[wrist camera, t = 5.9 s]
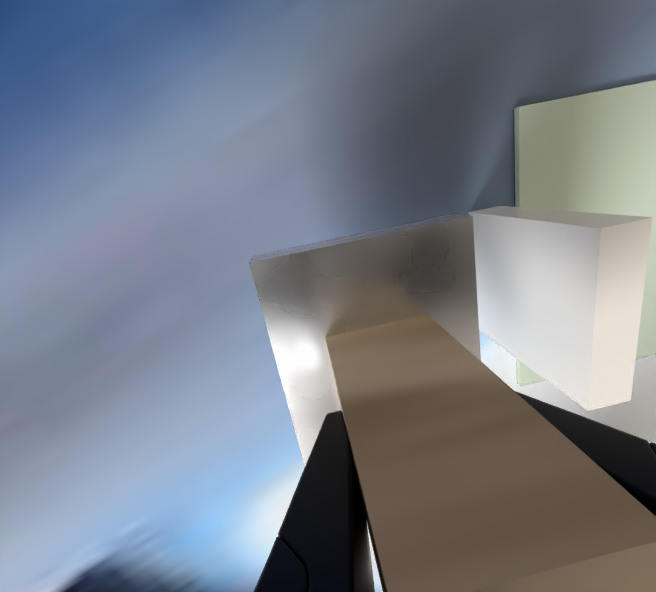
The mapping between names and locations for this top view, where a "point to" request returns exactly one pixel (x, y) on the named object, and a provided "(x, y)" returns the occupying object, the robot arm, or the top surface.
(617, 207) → the mat
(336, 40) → the top surface
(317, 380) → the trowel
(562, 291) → the tile
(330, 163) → the top surface
